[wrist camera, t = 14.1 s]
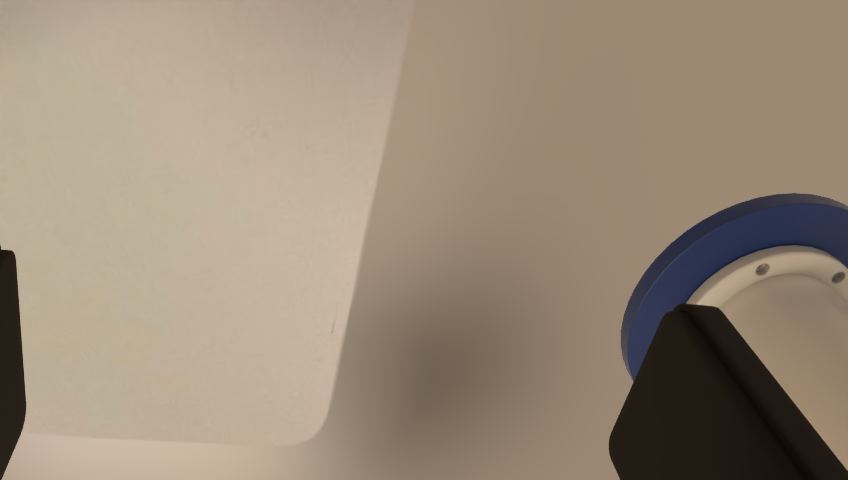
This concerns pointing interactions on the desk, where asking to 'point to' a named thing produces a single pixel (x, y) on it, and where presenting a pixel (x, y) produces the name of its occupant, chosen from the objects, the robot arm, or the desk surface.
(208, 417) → the desk surface
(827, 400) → the robot arm
